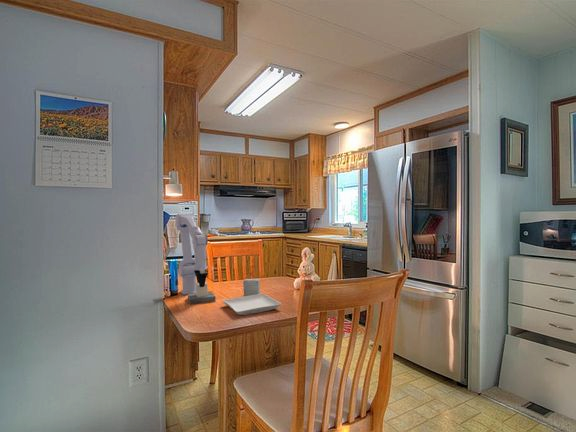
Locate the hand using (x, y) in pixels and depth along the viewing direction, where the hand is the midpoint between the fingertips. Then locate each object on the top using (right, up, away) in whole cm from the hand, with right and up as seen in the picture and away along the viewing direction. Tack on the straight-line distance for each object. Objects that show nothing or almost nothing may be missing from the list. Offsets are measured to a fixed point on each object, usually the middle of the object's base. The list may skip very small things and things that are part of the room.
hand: (201, 285), depth 162 cm
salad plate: (+27, -7, -16) cm, 32 cm away
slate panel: (0, -8, 0) cm, 8 cm away
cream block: (0, -5, 0) cm, 5 cm away
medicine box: (+25, -7, +5) cm, 27 cm away
